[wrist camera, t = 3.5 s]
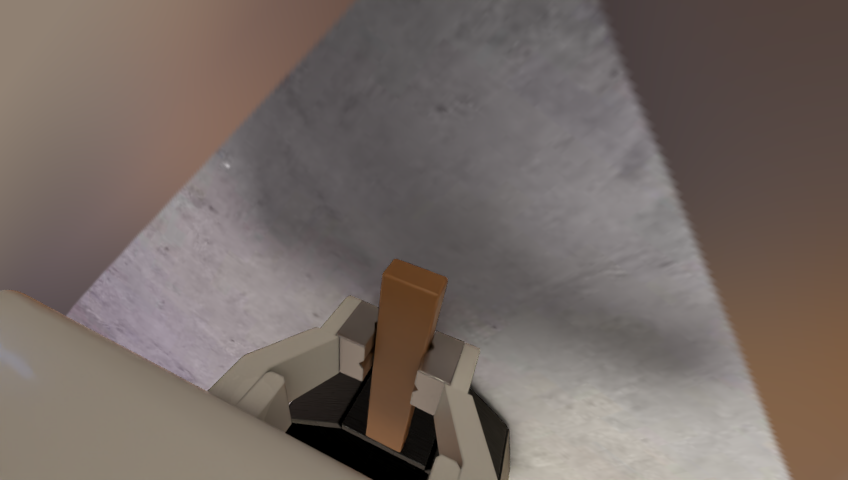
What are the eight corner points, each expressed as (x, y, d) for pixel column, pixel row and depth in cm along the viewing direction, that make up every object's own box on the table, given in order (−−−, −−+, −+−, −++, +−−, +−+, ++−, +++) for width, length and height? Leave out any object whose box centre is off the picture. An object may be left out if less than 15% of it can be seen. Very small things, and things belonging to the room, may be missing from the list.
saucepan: (306, 156, 13) (205, 205, 10) (653, 268, 11) (694, 394, 7) (321, 419, 26) (280, 483, 22) (482, 501, 23) (465, 590, 19)
